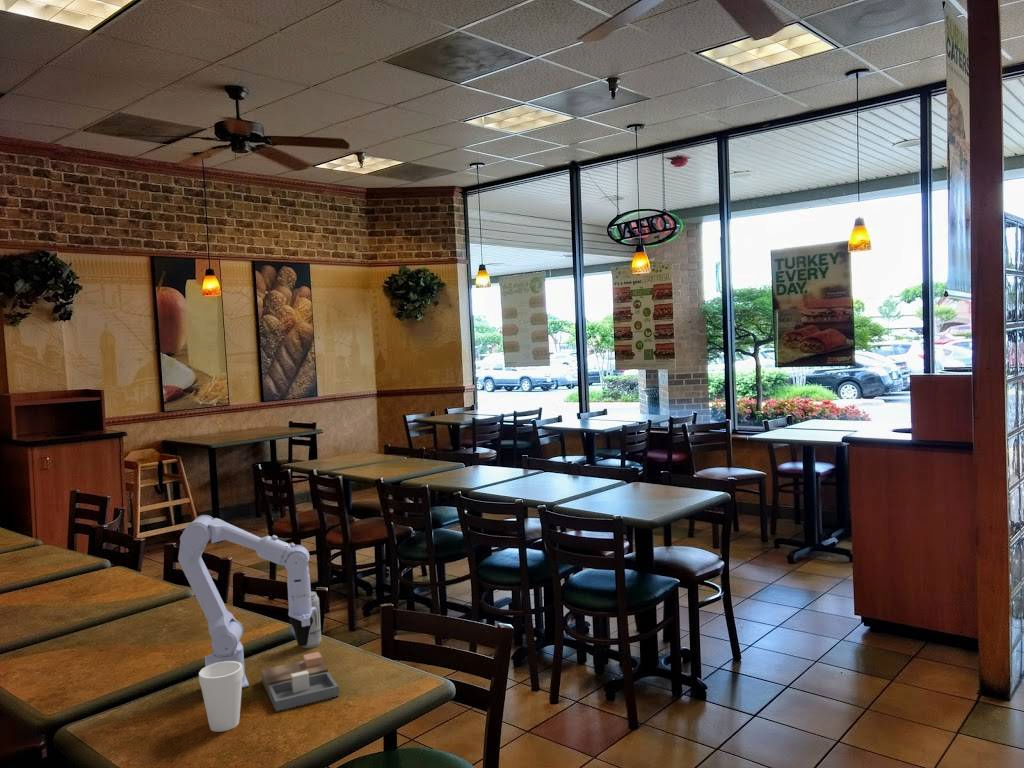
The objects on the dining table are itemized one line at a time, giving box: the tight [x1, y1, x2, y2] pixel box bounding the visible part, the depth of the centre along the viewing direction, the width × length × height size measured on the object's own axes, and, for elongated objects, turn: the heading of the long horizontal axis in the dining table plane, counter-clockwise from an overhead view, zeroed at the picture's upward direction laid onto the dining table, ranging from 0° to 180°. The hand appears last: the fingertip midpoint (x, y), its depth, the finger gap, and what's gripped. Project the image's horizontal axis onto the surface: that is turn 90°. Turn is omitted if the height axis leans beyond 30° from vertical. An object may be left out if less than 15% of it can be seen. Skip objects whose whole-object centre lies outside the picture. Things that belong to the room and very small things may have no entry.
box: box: [267, 671, 340, 712], centre depth 190 cm, size 15×10×2 cm
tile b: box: [302, 651, 323, 668], centre depth 202 cm, size 4×4×2 cm
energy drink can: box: [301, 590, 322, 649], centre depth 223 cm, size 6×6×15 cm
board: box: [261, 660, 329, 696], centre depth 199 cm, size 15×10×3 cm, turn 117°
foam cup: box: [198, 661, 244, 733], centre depth 176 cm, size 10×9×13 cm
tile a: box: [291, 671, 310, 693], centre depth 192 cm, size 4×4×2 cm
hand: (302, 645), depth 201 cm, fingers closed
